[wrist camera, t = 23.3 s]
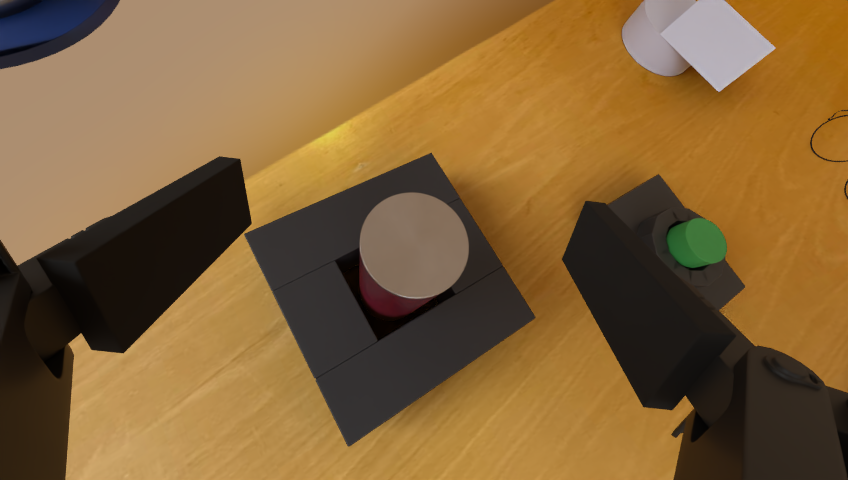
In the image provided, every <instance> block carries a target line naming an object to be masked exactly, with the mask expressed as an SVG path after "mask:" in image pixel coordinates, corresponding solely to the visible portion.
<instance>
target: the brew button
mask: <svg viewBox="0 0 848 480" xmlns="http://www.w3.org/2000/svg"><path fill="white" fill-rule="evenodd" d="M666 241H667V245H668V249H669V252H670V253H671V255H672V256H673V257H674V259H675V260H676V261H677V262H678V263H680V264H681V265H683V266H685V267H689V268H696V267H700V266H705V265H709V264H713V263H717V262H720V261H721V260H722V259H723V258H724V257H725V255H726V252H727V244H726V240H725V238H724V235H723V234H722V232H721V231H720V229H719V228H718V227H717V226H716V225H715V224H714V223H712V222H711V221H709V220H706V219H703V218H695V219H692V220H690V221H687V222H684V223H682V224H679V225H676V226H674V227H672V228H671V229H670V230H669V232H668V234H667V237H666Z"/></svg>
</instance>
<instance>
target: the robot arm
mask: <svg viewBox="0 0 848 480" xmlns="http://www.w3.org/2000/svg"><path fill="white" fill-rule="evenodd" d="M41 1H43V0H0V18H4V17H8V16H11V15H14V14H16V13H19V12H22V11H24V10H26V9H28V8H30V7H32V6H34V5H36V4H38V3H39V2H41ZM251 224H252V222H251V216H250V211H249V205H248V200H247V194H246V188H245V183H244V177H243V172H242V167H241V161H240V159H236V158H227V157H218V158H216V159H214V160H212V161H210V162H209V163H207V164H205V165H203V166H201V167H200V168H198V169H196V170H194V171H192V172H191V173H189V174H187V175H185V176H183V177H182V178H180V179H178V180H176V181H174V182H173V183H171V184H169V185H167V186H165V187H164V188H162V189H160V190H158V191H156V192H155V193H153V194H151V195H149V196H147V197H146V198H144V199H142V200H140V201H138V202H137V203H135V204H133V205H131V206H129V207H128V208H126V209H124V210H122V211H120V212H118V213H117V214H115V215H113V216H110V217H108V218H104V219H102V220H100V221H98V222H96V223H95V224H93V225H91V226H89V227H87V228H86V230H85V231H83V230H82V231H80V232H78V233H76V234H75V235H73V236H71V239H65V240H64V241H62V242H60V243H58V244H56V245H55V246H53V247H51V248H49V249H47V250H45V251H44V252H42V253H40V254H38V255H37V256H34V257H33V258H31V259H29V260H27V261H25V262H24V263H22V264H20V265H18V266H17V265H16V263H15V262H14V260H13V259H12V257H11V256H10V254H9V253H8V251H7V249H6V248H5V246H4V245H3V243H2V242H1V240H0V480H65V476H66V462H67V447H68V432H69V418H70V403H71V389H72V374H73V360H74V354H73V352H72V349H71V348H70V346H69V345H68V343H70V342H71V341H72V340H73V339H74V338H76V337H77V336H78V335H79V334H80V333H82V335H83V336H84V338H85V340H86V341H87V343H88V345H89V346H90V348H91V350H97V351H107V352H116V353H124V352H125V351H126V350H127V349H128V348H129V347H130V346H131V345H132V344H133V343H134V342H135V341H136V340H137V339H138V338H139V337H140V336H141V335H142V334H143V333H144V332H145V331H146V330H147V329H148V328H149V327H150V326H151V325H152V324H153V323H154V322H155V321H156V320H157V319H158V318H159V317H160V316H161V315H162V314H163V313H164V312H165V311H166V310H167V309H168V308H169V307H170V306H171V305H172V304H173V303H174V302H175V301H176V300H177V299H178V298H179V297H180V296H181V295H182V294H183V293H184V292H185V291H186V290H187V289H188V288H189V287H190V286H191V285H192V284H193V283H194V281H195V280H196V279H197V278H198V277H199V276H200V275H201V274H202V273H203V272H204V271H205V270H206V269H207V268H208V267H209V266H210V265H211V264H212V263H213V262H214V261H215V260H216V259H217V258H218V257H219V256H220V255H221V254H222V253H223V252H224V251H225V250H226V249H227V248H228V247H229V246H230V245H231V244H232V243H233V242H234V241H235V240H236V239H237V238H238V237H239V236H240V235H241V234H242V233H243V232H244V231H245V230H246V229H247V228H248V227H249V226H250V225H251ZM562 260H563V262H564V264H565V266H566V268H567V270H568V271H569V273H570V275H571V277H572V279H573V280H574V282H575V284H576V286H577V288H578V289H579V291H580V293H581V295H582V297H583V299H584V300H585V302H586V304H587V306H588V308H589V309H590V311H591V313H592V315H593V317H594V318H595V320H596V322H597V324H598V326H599V328H600V329H601V331H602V333H603V335H604V337H605V338H606V340H607V342H608V344H609V346H610V347H611V349H612V351H613V353H614V355H615V356H616V358H617V360H618V362H619V364H620V366H621V367H622V369H623V371H624V373H625V375H626V376H627V378H628V380H629V382H630V384H631V385H632V387H633V389H634V391H635V393H636V395H637V396H638V398H639V400H640V402H641V404H642V405H643V407H647V408H657V409H667V410H673V409H674V408H675V406H676V405H677V404H678V403H679V402H680V401H681V400H682V398H683V397H684V396H685V395H686V397H687V398H688V400H689V401H690V403H691V404H692V406H693V407H694V409H693V410H692V411H691V413H690V414H689V415H688V416H687V417H686V418H685V419H684V420H683V421H682V422H681V423H680V424H679V426H678V427H677V428H676V429H675V430H674V431H673V433H672V434H671V435H672V436H674V437H675V438H676V437H677V436H678V435H679V434H680V433H683V437H682V442H681V447H680V452H679V456H678V461H677V466H676V471H675V475H674V480H848V393H846V392H843V391H840V390H837V389H834V388H831V387H828V386H825V384H824V382H823V381H822V380H821V379H820V378H819V377H818V376H817V375H816V374H815V373H814V372H813V371H812V370H810V369H809V368H808V367H806V366H805V365H803V364H802V363H801V362H799V361H797V360H795V359H794V358H792V357H790V356H788V355H786V354H784V353H782V352H779V351H777V350H774V349H771V348H767V347H762V346H754V345H753V344H752V343H751V342H750V341H749V340H748V339H747V338H746V337H745V336H744V335H743V334H742V333H741V332H740V331H739V330H738V329H737V328H736V327H735V326H734V325H733V324H732V323H731V322H730V321H729V320H728V319H727V318H726V317H725V316H724V315H723V314H722V313H721V312H720V311H717V310H716V308H715V307H714V306H713V305H712V304H711V303H710V302H709V301H708V300H705V297H704V296H703V295H702V294H701V293H700V292H699V291H698V290H697V289H696V288H695V287H694V286H693V285H692V284H690V283H689V282H687V281H686V280H684V279H682V278H681V277H679V276H678V275H676V274H675V273H674V272H673V271H672V270H671V269H670V268H669V267H668V266H667V265H666V264H665V263H664V262H663V261H662V260H661V259H660V258H659V257H658V256H657V255H656V254H655V253H654V252H653V251H652V250H651V249H650V248H649V247H648V246H647V245H646V244H645V243H644V242H643V241H642V240H641V239H640V238H639V237H638V236H637V235H636V234H635V233H634V232H633V231H632V230H631V229H630V228H629V227H628V226H627V225H626V224H625V223H624V222H623V221H622V220H621V219H620V218H619V217H618V216H617V215H616V214H615V213H614V212H613V211H612V210H611V209H610V208H609V207H608V206H607V205H606V204H605V203H599V202H591V201H585V204H584V206H583V209H582V211H581V214H580V216H579V218H578V221H577V223H576V226H575V228H574V231H573V233H572V236H571V238H570V241H569V243H568V246H567V248H566V251H565V253H564V256H563V258H562Z"/></svg>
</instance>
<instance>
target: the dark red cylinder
mask: <svg viewBox="0 0 848 480" xmlns="http://www.w3.org/2000/svg"><path fill="white" fill-rule="evenodd" d="M468 254H469V242H468V236H467V232H466V230H465V227H464V225H463V223H462V221H461V219H460V218H459V217H458V215H457V214H456V213H455V212H454V211H453V209H452V208H450V207H449V206H448V205H447V204H445V203H444V202H443V201H441V200H439V199H437V198H435V197H433V196H430V195H426V194H422V193H401V194H397V195H394V196H391V197H389V198H387V199H385V200H383V201H382V202H380V203H379V204H378V205H377V206H375V207H374V208H373V209H372V211H371V212H370V213H369V214H368V216H367V218H366V219H365V221H364V224H363V226H362V229H361V233H360V251H359V293H360V298H361V301H362V304H363V306H364V307H365V309H366V310H367V311H368V312H369V313H370V314H371V315H373V316H374V317H376V318H378V319H381V320H386V321H393V320H398V319H401V318H403V317H405V316H407V315H408V314H410V313H411V312H413V311H415V310H416V309H418V308H419V307H421V306H422V305H424V304H425V303H427V302H428V301H430V300H432V299H433V298H435V297H436V296H438V295H439V294H441V293H442V292H444V291H445V290H447V289H448V288H450V287H451V286H452V285H453V284H454V283H455V282H456V281H457V280H458V279H459V277H460V276H461V274H462V273H463V271H464V268H465V266H466V263H467V260H468Z"/></svg>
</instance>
